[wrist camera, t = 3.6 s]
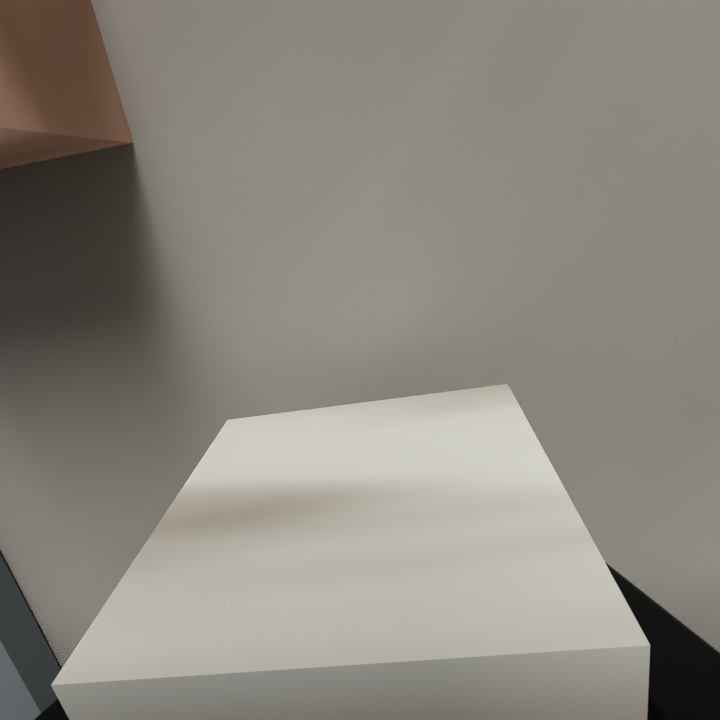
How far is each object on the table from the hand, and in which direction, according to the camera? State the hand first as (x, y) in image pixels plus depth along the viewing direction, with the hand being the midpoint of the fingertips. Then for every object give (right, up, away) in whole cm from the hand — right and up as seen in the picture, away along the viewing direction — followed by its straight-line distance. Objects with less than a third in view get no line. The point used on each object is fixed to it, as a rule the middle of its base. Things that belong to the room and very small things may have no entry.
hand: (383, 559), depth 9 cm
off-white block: (0, 0, +1) cm, 1 cm away
